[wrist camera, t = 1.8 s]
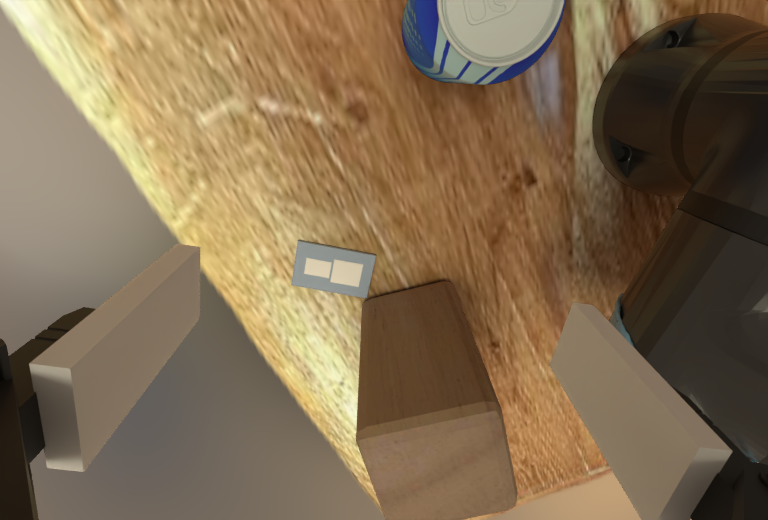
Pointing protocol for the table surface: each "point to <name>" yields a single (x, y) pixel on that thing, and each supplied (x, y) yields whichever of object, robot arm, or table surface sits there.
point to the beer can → (478, 37)
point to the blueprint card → (333, 269)
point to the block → (429, 411)
